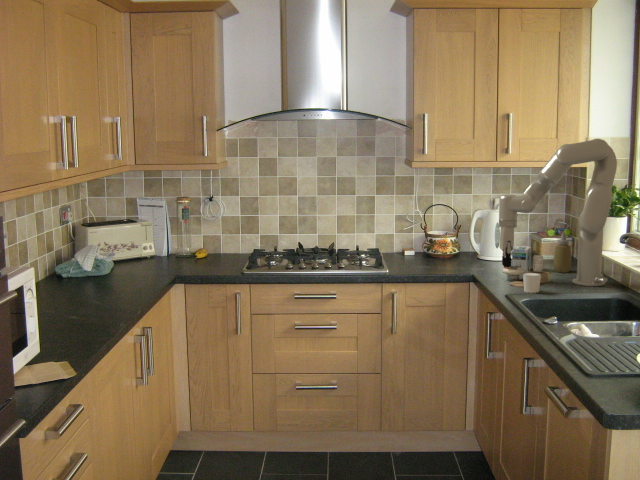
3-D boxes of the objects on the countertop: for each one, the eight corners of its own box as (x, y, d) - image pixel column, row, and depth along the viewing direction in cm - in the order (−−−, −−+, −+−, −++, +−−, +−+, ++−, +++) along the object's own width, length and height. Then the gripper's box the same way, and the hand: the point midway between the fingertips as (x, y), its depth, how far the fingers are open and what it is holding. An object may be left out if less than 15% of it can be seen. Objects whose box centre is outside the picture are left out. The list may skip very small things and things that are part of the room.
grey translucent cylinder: (543, 281, 305) (544, 256, 304) (537, 282, 304) (538, 257, 302) (537, 280, 309) (538, 254, 307) (530, 281, 307) (531, 255, 305)
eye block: (549, 281, 305) (549, 272, 304) (537, 283, 302) (537, 274, 301) (537, 279, 311) (537, 270, 310) (525, 280, 308) (525, 271, 307)
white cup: (531, 288, 292) (532, 271, 291) (544, 291, 286) (544, 274, 285) (518, 290, 289) (519, 273, 288) (531, 293, 283) (532, 276, 282)
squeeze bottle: (572, 273, 322) (574, 234, 319) (553, 273, 323) (555, 233, 321) (570, 270, 330) (571, 231, 327) (551, 269, 331) (553, 231, 329)
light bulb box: (527, 273, 325) (528, 249, 323) (512, 272, 328) (512, 248, 326) (531, 268, 334) (531, 246, 333) (516, 267, 337) (516, 245, 336)
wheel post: (521, 280, 308) (522, 273, 308) (513, 281, 306) (513, 274, 305) (513, 278, 312) (513, 271, 312) (504, 279, 310) (505, 273, 310)
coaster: (537, 285, 298) (537, 284, 297) (520, 288, 293) (520, 286, 293) (521, 281, 305) (521, 280, 305) (505, 284, 301) (505, 282, 301)
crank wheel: (519, 275, 302) (519, 257, 301) (499, 273, 308) (499, 255, 307) (527, 272, 309) (528, 254, 308) (508, 269, 315) (508, 252, 314)
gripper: (496, 221, 316) (495, 262, 319) (501, 226, 300) (500, 269, 303) (513, 221, 315) (512, 262, 318) (519, 226, 299) (518, 269, 302)
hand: (506, 265), depth 310 cm, fingers open, 3 cm apart
